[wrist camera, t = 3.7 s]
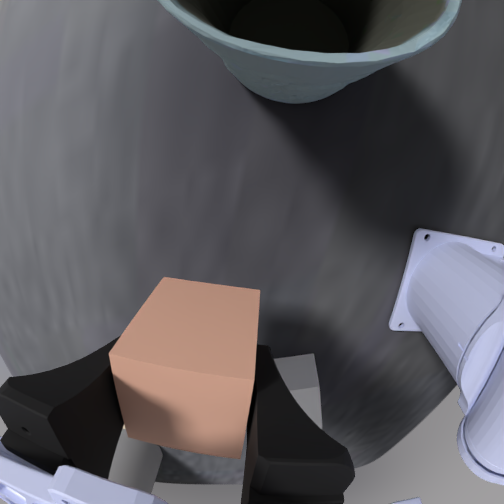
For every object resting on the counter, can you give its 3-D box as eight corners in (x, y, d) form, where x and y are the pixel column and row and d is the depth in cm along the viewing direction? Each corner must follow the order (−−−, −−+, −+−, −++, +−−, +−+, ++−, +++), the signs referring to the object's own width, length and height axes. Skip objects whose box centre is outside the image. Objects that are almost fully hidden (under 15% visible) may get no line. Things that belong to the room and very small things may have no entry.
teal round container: (307, 145, 18) (365, 145, 7) (176, 60, 17) (74, -17, 5) (392, 37, 15) (495, -37, 4) (268, -41, 14) (263, -159, 2)
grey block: (313, 352, 23) (319, 386, 19) (317, 395, 25) (322, 428, 21) (250, 360, 24) (247, 394, 20) (261, 401, 25) (259, 435, 22)
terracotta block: (260, 289, 14) (254, 380, 8) (249, 365, 16) (240, 459, 10) (163, 276, 14) (108, 353, 8) (165, 352, 16) (128, 437, 10)
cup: (101, 412, 28) (66, 479, 18) (169, 444, 28) (147, 517, 19) (96, 443, 30) (68, 500, 21) (153, 470, 31) (134, 530, 22)
